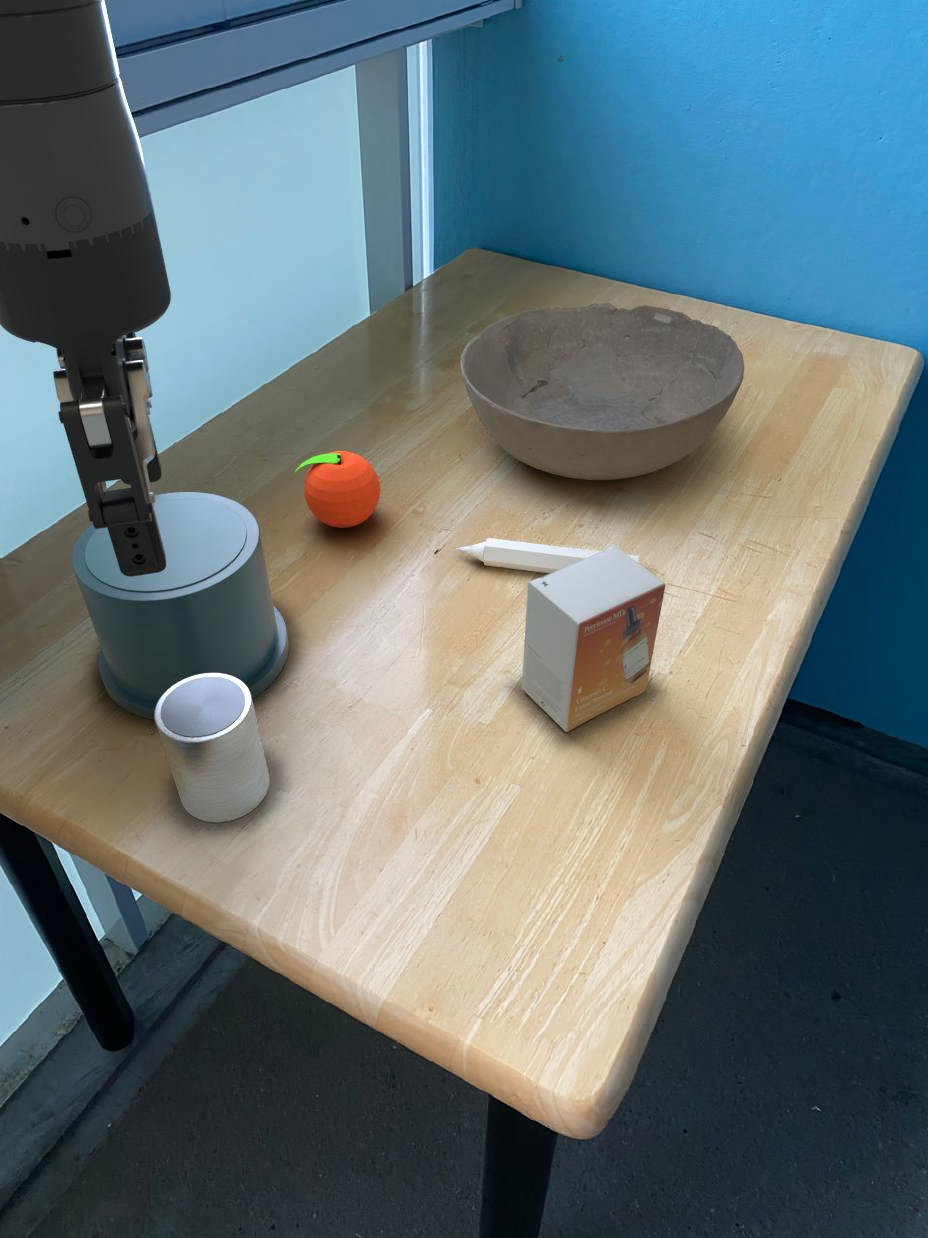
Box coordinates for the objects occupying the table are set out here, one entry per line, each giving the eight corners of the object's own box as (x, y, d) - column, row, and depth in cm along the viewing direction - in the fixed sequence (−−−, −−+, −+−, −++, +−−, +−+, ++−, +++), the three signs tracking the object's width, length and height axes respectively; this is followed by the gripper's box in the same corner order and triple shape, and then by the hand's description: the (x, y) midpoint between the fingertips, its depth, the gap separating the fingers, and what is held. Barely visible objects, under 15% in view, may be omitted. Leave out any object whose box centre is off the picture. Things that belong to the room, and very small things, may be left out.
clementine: (291, 542, 85) (281, 476, 80) (302, 500, 90) (293, 434, 85) (379, 543, 85) (374, 476, 80) (385, 500, 90) (380, 434, 85)
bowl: (755, 412, 102) (774, 325, 96) (679, 546, 84) (697, 450, 77) (527, 362, 112) (530, 279, 105) (413, 472, 93) (409, 381, 87)
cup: (182, 831, 61) (155, 750, 56) (178, 763, 65) (152, 681, 60) (274, 811, 62) (256, 730, 57) (264, 745, 66) (246, 664, 61)
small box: (565, 735, 67) (576, 625, 60) (519, 689, 70) (524, 580, 64) (649, 691, 70) (668, 582, 63) (601, 649, 74) (615, 541, 67)
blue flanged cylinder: (100, 739, 67) (55, 623, 60) (103, 613, 77) (65, 501, 70) (300, 700, 70) (280, 585, 62) (277, 583, 80) (257, 473, 73)
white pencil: (455, 562, 84) (635, 582, 81) (451, 565, 81) (635, 585, 79) (458, 533, 83) (639, 552, 80) (453, 535, 81) (639, 555, 78)
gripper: (-18, 163, 43) (75, 463, 54) (-63, 275, 33) (63, 619, 44) (148, 152, 45) (207, 446, 56) (155, 256, 35) (226, 593, 45)
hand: (144, 522), depth 50 cm, fingers open, 8 cm apart
